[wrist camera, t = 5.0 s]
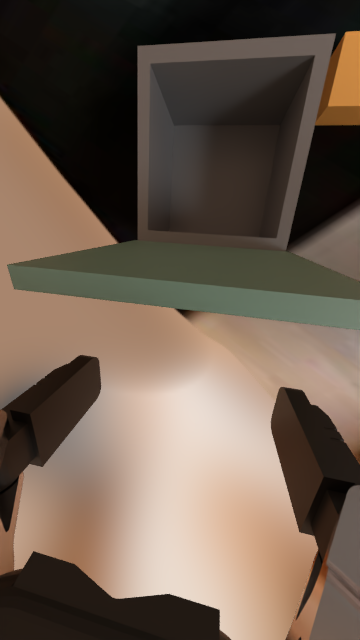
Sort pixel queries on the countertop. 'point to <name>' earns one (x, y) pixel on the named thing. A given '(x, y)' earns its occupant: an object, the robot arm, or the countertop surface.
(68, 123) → the countertop surface
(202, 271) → the lid
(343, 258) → the countertop surface
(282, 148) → the storage box
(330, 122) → the orange rectangular block
